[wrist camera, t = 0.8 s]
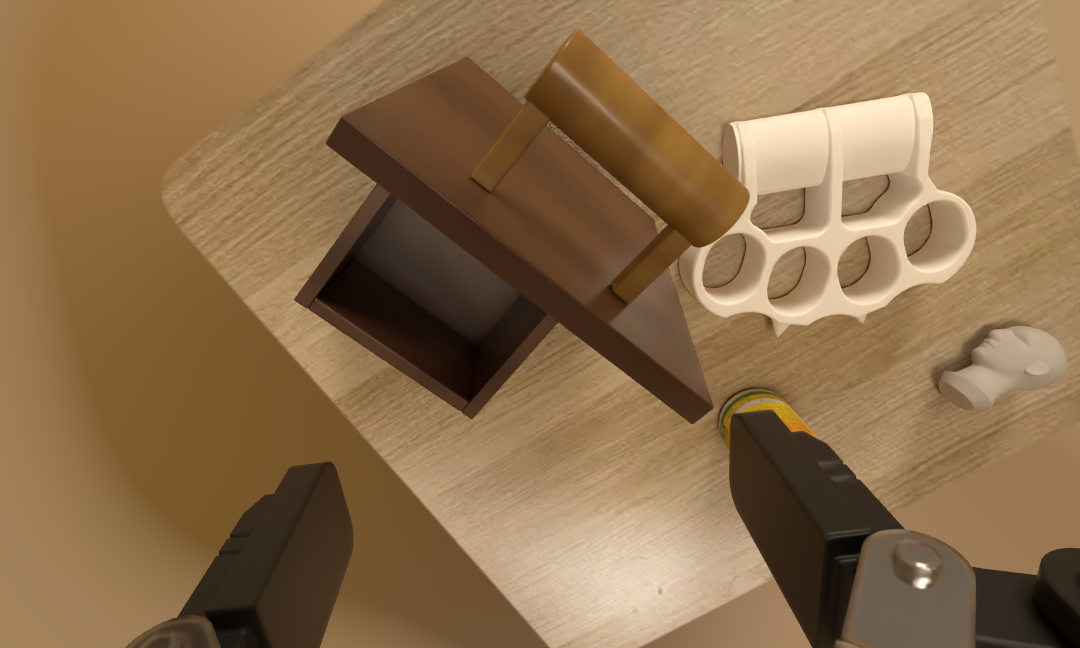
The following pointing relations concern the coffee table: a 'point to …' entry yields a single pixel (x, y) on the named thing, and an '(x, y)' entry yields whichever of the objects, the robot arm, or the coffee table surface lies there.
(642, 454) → the coffee table surface
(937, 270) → the white brass knuckles
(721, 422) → the supplement bottle
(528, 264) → the lid
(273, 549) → the robot arm
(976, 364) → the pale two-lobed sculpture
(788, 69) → the coffee table surface
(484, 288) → the chest
